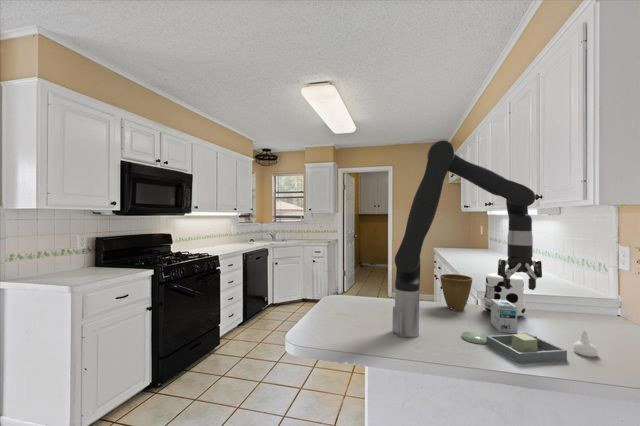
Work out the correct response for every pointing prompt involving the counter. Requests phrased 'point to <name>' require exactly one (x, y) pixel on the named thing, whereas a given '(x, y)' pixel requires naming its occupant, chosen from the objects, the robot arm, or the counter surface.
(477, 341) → the saucer
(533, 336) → the walnut block
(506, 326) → the light bulb box
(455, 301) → the plant pot
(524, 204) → the robot arm
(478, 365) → the counter surface
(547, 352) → the bin
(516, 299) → the milk container
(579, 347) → the garlic bulb
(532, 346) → the olive box
